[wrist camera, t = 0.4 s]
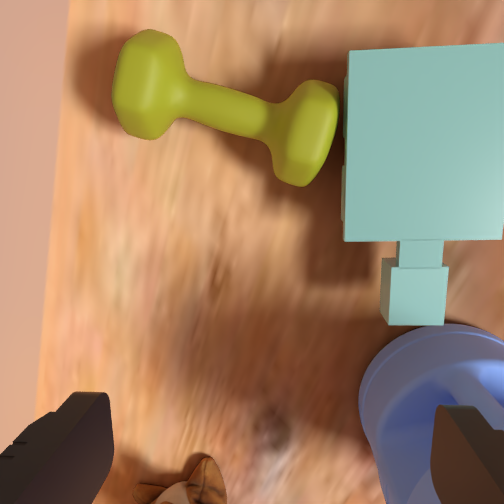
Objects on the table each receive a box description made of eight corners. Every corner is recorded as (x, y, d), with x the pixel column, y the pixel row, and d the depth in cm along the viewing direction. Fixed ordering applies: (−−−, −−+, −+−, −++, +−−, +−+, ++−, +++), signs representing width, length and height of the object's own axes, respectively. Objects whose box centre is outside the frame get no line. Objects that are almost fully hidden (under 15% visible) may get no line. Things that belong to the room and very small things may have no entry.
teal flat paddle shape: (342, 61, 28) (349, 50, 25) (500, 53, 27) (525, 41, 25) (337, 311, 32) (342, 325, 30) (473, 311, 32) (491, 325, 29)
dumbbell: (131, 133, 34) (93, 126, 27) (152, 37, 32) (117, 3, 25) (310, 190, 34) (317, 198, 27) (341, 97, 32) (358, 80, 26)
